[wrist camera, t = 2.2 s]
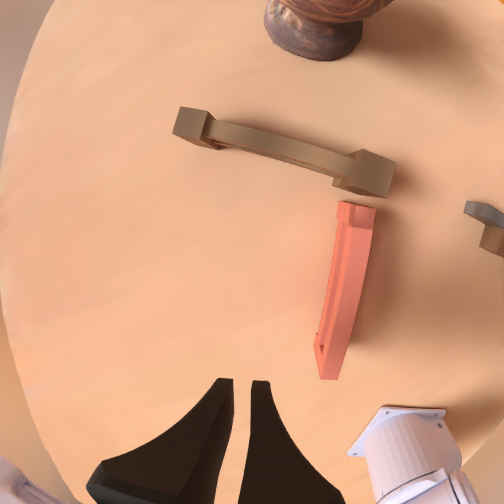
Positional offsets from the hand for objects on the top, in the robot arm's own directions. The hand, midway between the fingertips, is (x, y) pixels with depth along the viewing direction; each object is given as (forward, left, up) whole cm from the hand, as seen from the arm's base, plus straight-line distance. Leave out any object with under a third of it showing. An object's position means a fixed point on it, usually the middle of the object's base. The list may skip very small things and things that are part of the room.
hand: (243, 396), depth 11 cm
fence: (-9, -11, -10) cm, 18 cm away
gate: (-5, -3, -10) cm, 12 cm away
